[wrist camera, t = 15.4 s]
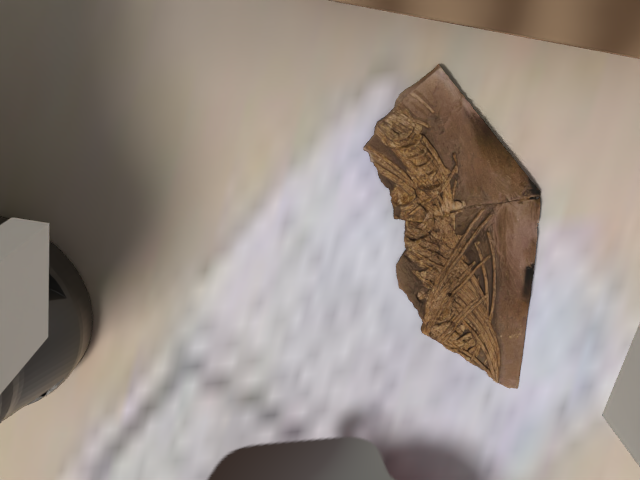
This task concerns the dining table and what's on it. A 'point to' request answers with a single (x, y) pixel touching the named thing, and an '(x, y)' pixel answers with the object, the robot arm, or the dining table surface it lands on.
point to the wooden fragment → (460, 224)
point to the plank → (535, 19)
